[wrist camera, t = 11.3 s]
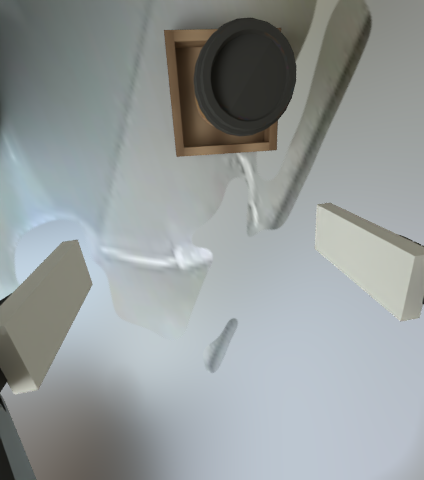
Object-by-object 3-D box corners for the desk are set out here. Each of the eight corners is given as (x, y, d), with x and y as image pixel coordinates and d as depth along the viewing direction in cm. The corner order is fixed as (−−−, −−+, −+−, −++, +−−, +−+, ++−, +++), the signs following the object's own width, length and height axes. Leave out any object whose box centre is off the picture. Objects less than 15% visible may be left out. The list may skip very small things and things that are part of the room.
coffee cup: (175, 111, 34) (174, 96, 20) (209, 45, 32) (235, -22, 18) (229, 147, 36) (262, 156, 22) (264, 88, 34) (324, 59, 20)
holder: (176, 154, 37) (176, 156, 34) (165, 40, 32) (163, 30, 29) (268, 148, 38) (276, 149, 35) (270, 37, 33) (281, 27, 30)
